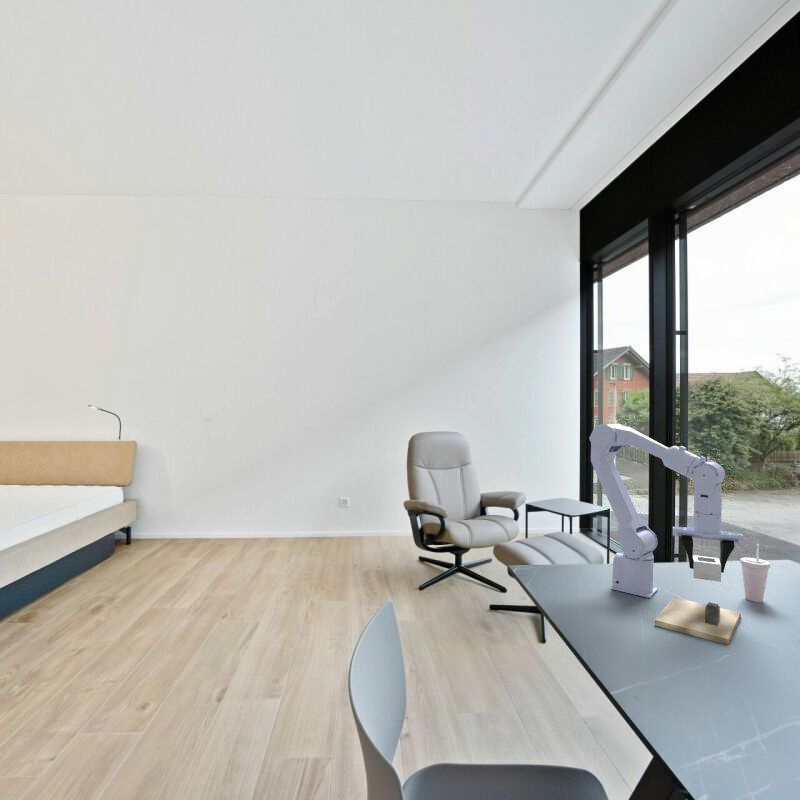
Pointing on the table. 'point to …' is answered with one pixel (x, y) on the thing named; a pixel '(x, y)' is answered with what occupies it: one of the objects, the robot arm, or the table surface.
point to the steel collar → (706, 568)
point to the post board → (699, 620)
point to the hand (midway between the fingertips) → (706, 569)
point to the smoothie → (754, 576)
